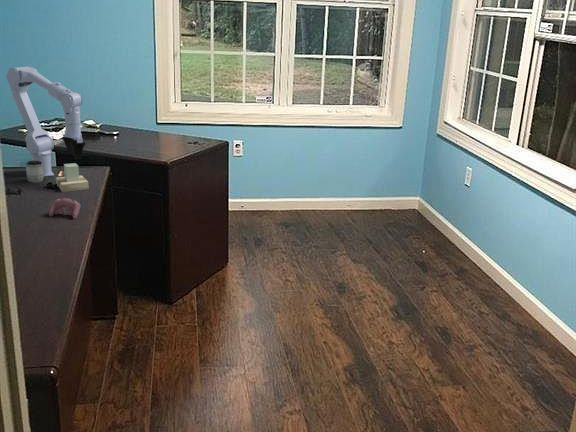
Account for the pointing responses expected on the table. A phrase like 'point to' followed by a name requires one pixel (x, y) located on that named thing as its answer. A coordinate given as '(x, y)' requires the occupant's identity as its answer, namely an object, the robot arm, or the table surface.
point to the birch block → (72, 184)
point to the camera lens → (34, 171)
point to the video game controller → (65, 202)
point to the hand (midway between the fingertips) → (74, 156)
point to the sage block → (71, 172)
